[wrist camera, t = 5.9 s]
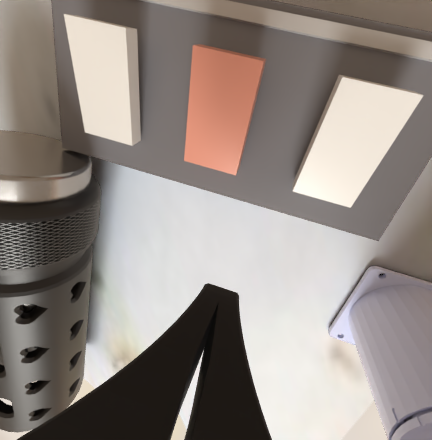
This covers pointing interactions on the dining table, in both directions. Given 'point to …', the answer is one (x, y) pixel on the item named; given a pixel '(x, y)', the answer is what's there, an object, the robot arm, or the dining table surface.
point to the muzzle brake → (43, 275)
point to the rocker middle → (220, 106)
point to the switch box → (259, 97)
